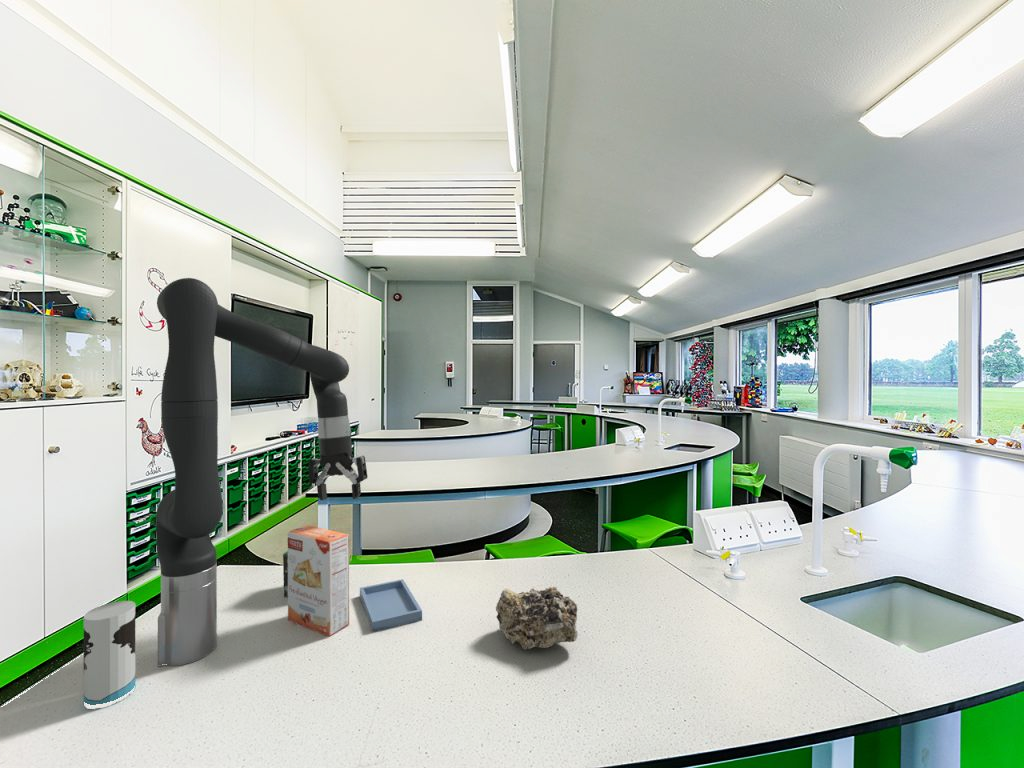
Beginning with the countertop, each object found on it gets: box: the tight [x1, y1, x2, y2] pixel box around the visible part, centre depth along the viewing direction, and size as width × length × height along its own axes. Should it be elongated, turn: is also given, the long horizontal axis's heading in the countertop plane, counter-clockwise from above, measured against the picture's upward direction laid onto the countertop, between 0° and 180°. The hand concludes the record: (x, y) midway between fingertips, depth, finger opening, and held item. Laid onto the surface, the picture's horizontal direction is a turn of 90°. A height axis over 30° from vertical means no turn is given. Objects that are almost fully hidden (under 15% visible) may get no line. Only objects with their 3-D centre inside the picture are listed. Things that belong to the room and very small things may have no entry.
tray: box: [359, 578, 423, 633], centre depth 109 cm, size 11×19×2 cm, turn 27°
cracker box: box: [287, 525, 350, 637], centre depth 102 cm, size 14×6×21 cm, turn 62°
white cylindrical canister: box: [83, 600, 136, 705], centre depth 78 cm, size 7×7×15 cm
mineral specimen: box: [495, 586, 579, 650], centre depth 97 cm, size 16×18×10 cm
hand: (339, 498), depth 112 cm, fingers open, 8 cm apart
